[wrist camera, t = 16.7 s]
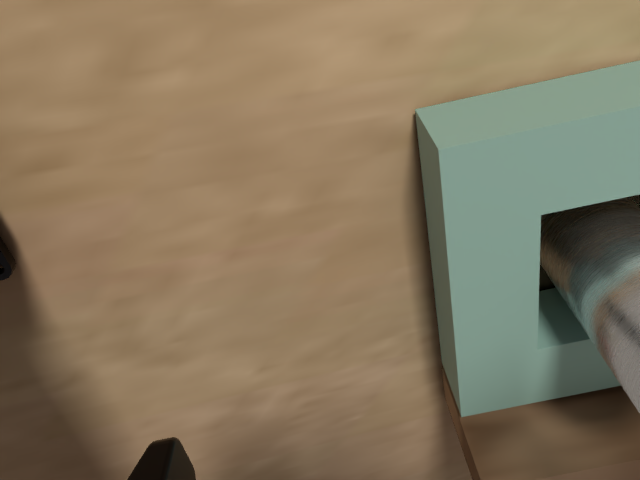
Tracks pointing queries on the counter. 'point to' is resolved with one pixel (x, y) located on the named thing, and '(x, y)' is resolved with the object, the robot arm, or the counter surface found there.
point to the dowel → (600, 279)
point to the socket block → (520, 228)
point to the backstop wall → (553, 438)
